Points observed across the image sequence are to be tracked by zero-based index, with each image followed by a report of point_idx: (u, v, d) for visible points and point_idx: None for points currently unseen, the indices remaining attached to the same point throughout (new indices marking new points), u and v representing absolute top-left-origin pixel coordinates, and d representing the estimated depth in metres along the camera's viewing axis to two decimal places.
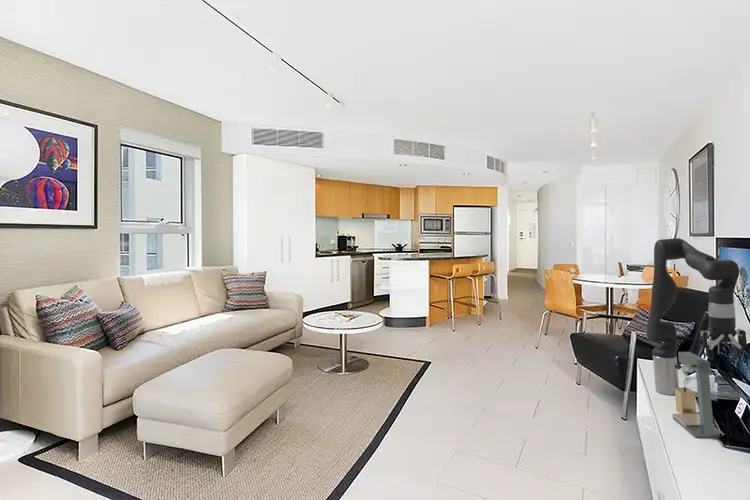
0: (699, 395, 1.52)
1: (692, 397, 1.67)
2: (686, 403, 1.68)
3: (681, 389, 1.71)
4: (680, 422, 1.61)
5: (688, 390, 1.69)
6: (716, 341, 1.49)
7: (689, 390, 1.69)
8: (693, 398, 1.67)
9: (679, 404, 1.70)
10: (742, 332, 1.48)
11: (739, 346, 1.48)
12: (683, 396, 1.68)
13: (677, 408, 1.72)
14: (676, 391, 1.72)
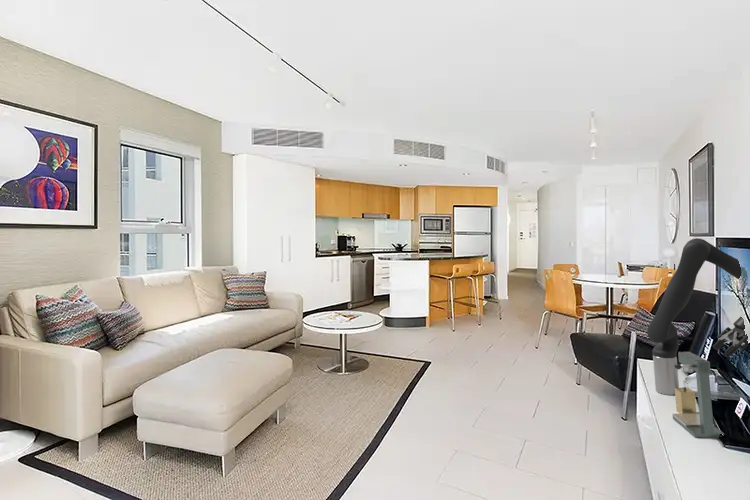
0: (699, 395, 1.52)
1: (692, 397, 1.67)
2: (686, 403, 1.68)
3: (681, 389, 1.71)
4: (680, 422, 1.61)
5: (688, 390, 1.69)
6: None
7: (689, 390, 1.69)
8: (693, 398, 1.67)
9: (679, 404, 1.70)
10: None
11: None
12: (683, 396, 1.68)
13: (677, 408, 1.72)
14: (676, 391, 1.72)
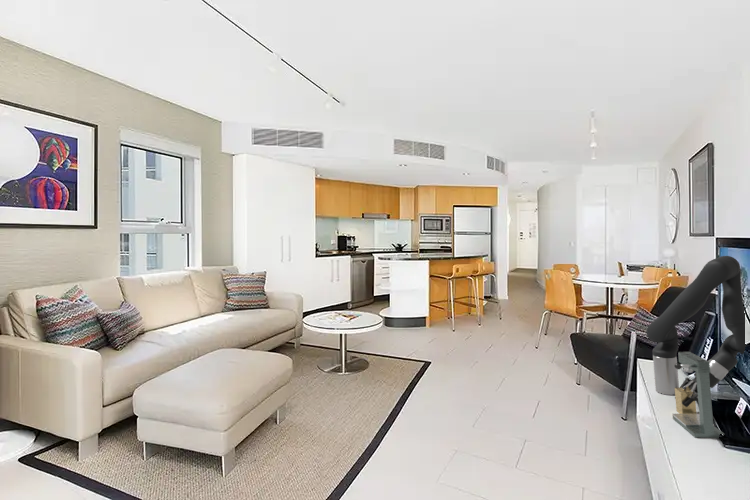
0: (699, 395, 1.52)
1: None
2: None
3: (681, 389, 1.71)
4: (680, 422, 1.61)
5: (688, 390, 1.69)
6: None
7: (689, 390, 1.69)
8: None
9: (679, 404, 1.70)
10: None
11: None
12: (683, 396, 1.68)
13: (677, 408, 1.72)
14: (676, 391, 1.72)
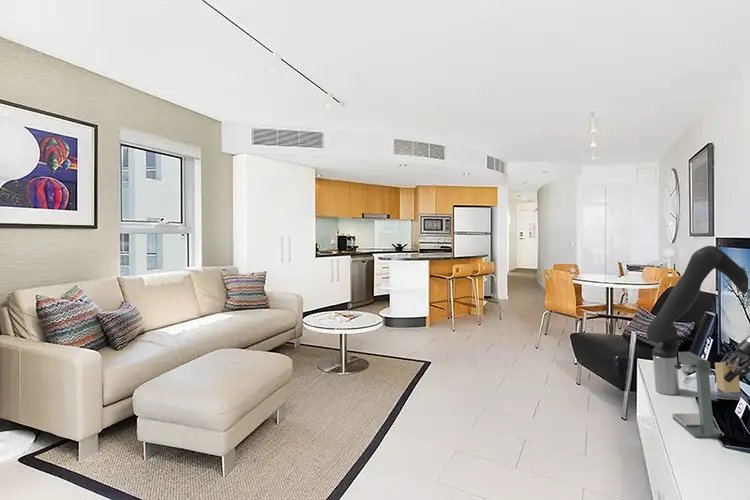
0: (699, 395, 1.52)
1: None
2: None
3: (722, 363, 1.59)
4: (680, 422, 1.61)
5: (730, 364, 1.57)
6: None
7: (731, 364, 1.57)
8: None
9: (721, 379, 1.58)
10: None
11: None
12: (725, 371, 1.56)
13: (718, 384, 1.60)
14: (717, 366, 1.60)
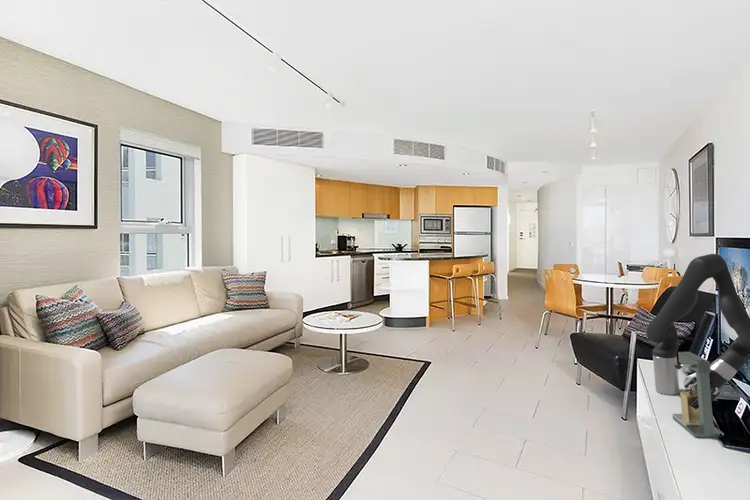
0: (699, 395, 1.52)
1: None
2: (693, 408, 1.58)
3: (687, 393, 1.61)
4: (680, 422, 1.61)
5: (695, 394, 1.60)
6: None
7: (696, 394, 1.60)
8: None
9: (685, 409, 1.60)
10: None
11: None
12: (689, 401, 1.59)
13: (683, 413, 1.63)
14: (682, 395, 1.62)
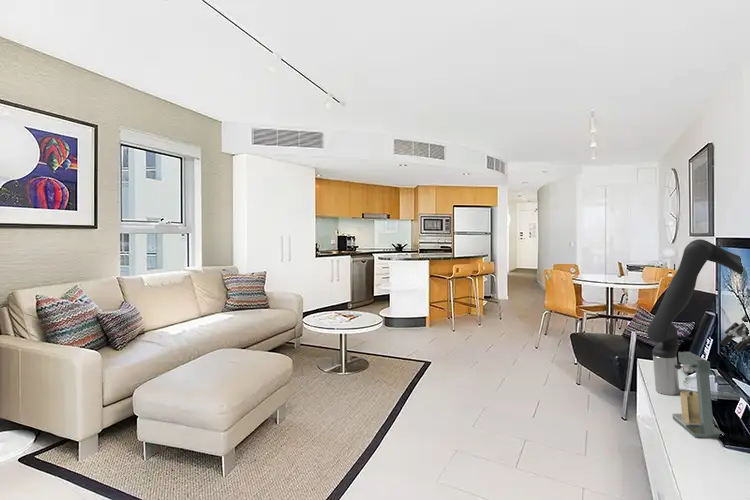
0: (699, 395, 1.52)
1: None
2: (693, 408, 1.58)
3: (687, 393, 1.61)
4: (680, 422, 1.61)
5: (695, 394, 1.60)
6: None
7: (696, 394, 1.60)
8: None
9: (685, 409, 1.60)
10: None
11: None
12: (689, 401, 1.59)
13: (683, 413, 1.63)
14: (682, 395, 1.62)
